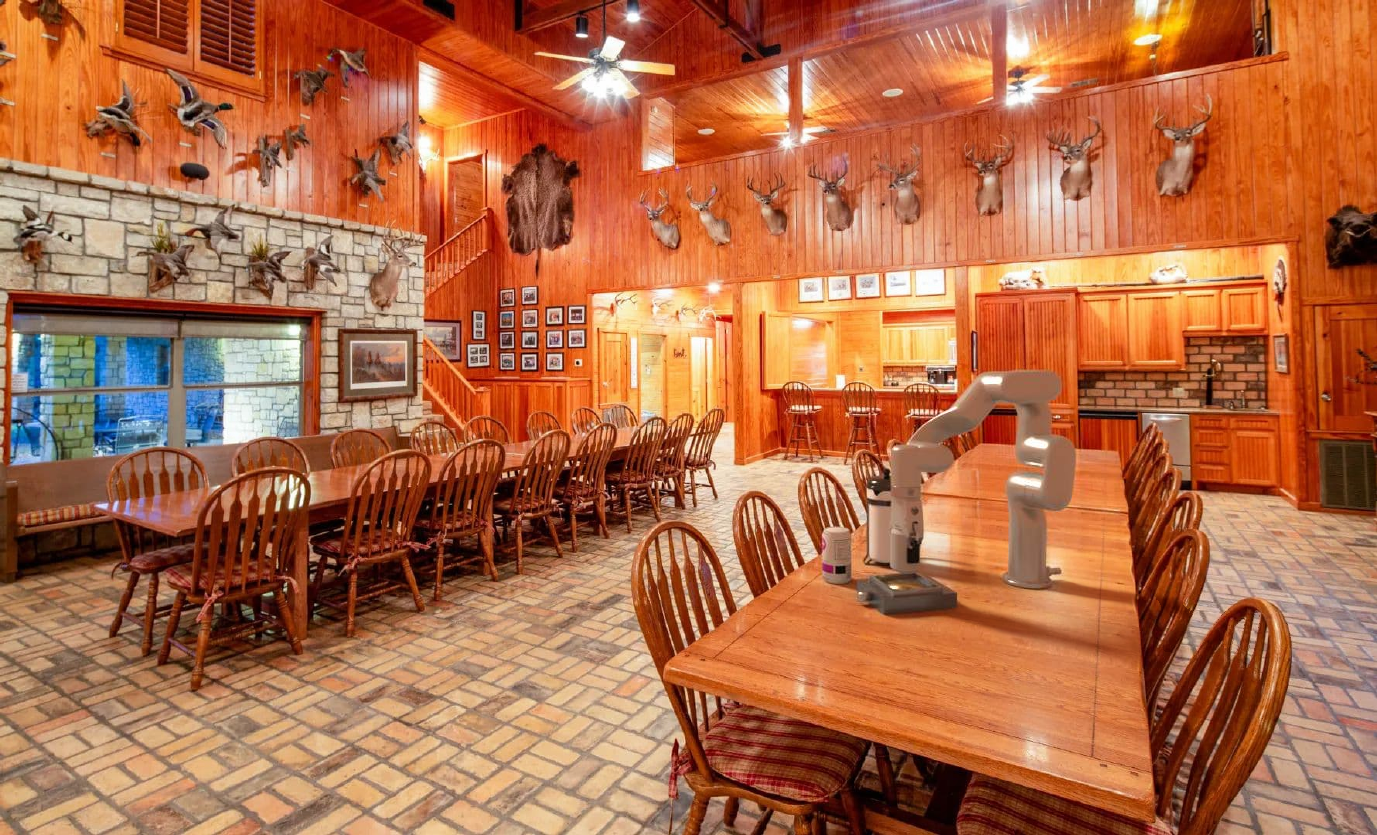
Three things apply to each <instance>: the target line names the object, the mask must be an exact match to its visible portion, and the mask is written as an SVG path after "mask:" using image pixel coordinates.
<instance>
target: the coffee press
mask: <svg viewBox="0 0 1377 835" xmlns="http://www.w3.org/2000/svg"><path fill="white" fill-rule="evenodd" d="M882 473H883V474H884V475H883V474H882V475H875V476H871V477H870V478H868V479H867V481H866V482H867V483H865V488H866V496H865V499H866V500H865V502H866V554H865V557H864V558H863V560H862V562H863V563H864V564H865V565H868V564H870V563H871V562H872V561H874V562H878V563H883V564H890V532H891V531H890V529H891V528H890V525H889V521H890V511H891V500H892V498H891V468H890V469H889V468H887V467H886V468H884V469H883V471H882ZM868 558H869V559H868ZM867 559H868V560H867Z"/></svg>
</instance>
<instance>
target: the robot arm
mask: <svg viewBox="0 0 1377 835" xmlns="http://www.w3.org/2000/svg"><path fill="white" fill-rule="evenodd" d="M1062 381H1063V380H1062V378H1061V377H1060V375H1059V374H1057V373H1056V372H1054V371H1053V370H1050V369H1048V370H1047V369H1013V370H1006V371H1005V370H1004V371H1003V370H1001V371H999V370H997V371H996V370H995V371H994V370H992V371H991V370H990V371H984V372H982V373H979V374H978V375H977V376H976V377H975V378H974V380H973V381H972V382H970V384H969V385H968V386H967V388H966V389H964V391H963V392H962V393H961V394H960V396H959V397H958V398H957V399H956V401H955V402H954V403H953V404H952V405H951V406H950V408H948V409H946V410H945V411H943V412H941V413H939V414H937V415H936V416H935V417H933V418H931V419H930V420H928V421H927V422H925V423H924V424H922V425H921V426H920V427H919V428H918V429H917V430H916V431H915V433H914V434H913V435H912V436H911V437H910V439H908V441H907V442H906V444H896V445H894V446H893V447H892V448H891V450H890V471H891V472H890V475H891V498H892V500H891V511H890V521H889V525H890V528H891V529H890V531H891V530H892V529H893V528H894V527H893V525H895V527H897V528H901V531H902V533H903V534H904V537H906V538H907V543H908V547H909V548H907V563H908V564H912V563H919V548H920V549H921V548H922V547H921V545H922V543H923V539H924V536H925V535H924V532H925V528H924V511H923V510H924V509H923V503H922V473H933V474H934V473H935V474H941V473H944V472H946V471H948V470H949V469H950V468H951V467H952V466H953V463H954V461H955V460H954V454H953V452H952V450H951V449H950V448H949V447H947V446H945V445H943V444H940V443H942V442H943V441H945V440H947V439H949V438H952V437H955V436H960V435H963V434H965V433H969V432H971V431H974V430H976V429H978V428H979V426H980V425H981V424H982V422H983V421H984V420H985V419H986V417H987V416H988V415H989V414H990V412H991V411H992V410H993V409H994V408H995V407H996V405H998V404H1009V405H1013V406H1014V408H1015V411H1016V413H1017V426H1016V436H1015V446H1014V454H1015V459H1016V461H1017V462H1019V463H1020V464H1022V465H1024V466H1027V467H1031V468H1039V469H1043V472H1037V471H1031V470H1018V471H1014V472H1012V473H1011V474H1010V475H1009V476H1008V478H1007V480H1006V482H1005V495H1006V499H1007V505H1008V564H1007V565H1008V566H1007V567H1008V568H1007V572H1006V571H1005V572H1004V573H1002V576H1001V578H1002V581H1003V582H1005V583H1006V584H1008V585H1011V586H1014V587H1019V588H1023V589H1035V590H1036V589H1038V590H1039V589H1046V588H1049V587H1051V586H1052V584H1053V580H1052V578H1050V577H1051V576H1052V575H1054V576H1055V575H1062V569H1061V568H1060V567H1059V566H1058V567H1051V566H1049V565H1048V566H1047V544H1048V543H1047V540H1048V539H1047V537H1048V536H1047V534H1048V533H1047V532H1048V520H1047V516H1046V512H1045V510H1046V511H1049V512H1050V511H1051V512H1061V511H1063V510H1065V509H1066V508H1067V507H1068V506H1069V505H1070V503H1071V500H1072V497H1073V491H1074V484H1075V475H1076V474H1075V473H1076V463H1077V452H1076V448H1075V446H1074V444H1073V443H1072V440H1070V439H1069V438H1068V437H1065V436H1062V435H1058V434H1053V433H1052V424H1053V423H1052V421H1053V418H1052V417H1053V416H1052V415H1053V414H1052V410H1051V407H1050V405H1049V404H1048V403H1049V402H1051V401H1054V400H1056V399H1057V398H1058V397H1059V396H1060V394H1061V393H1062V389H1063V382H1062ZM910 533H915V535H916V536H910ZM911 539H915V540H913V542H911Z"/></svg>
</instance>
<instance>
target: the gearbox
mask: <svg viewBox="0 0 1377 835" xmlns="http://www.w3.org/2000/svg"><path fill="white" fill-rule="evenodd" d="M856 597H857V598H856V599H857V601H858V602H859V603H862V602H864V603H865V602H867V603H868V604H869V605H871V606H872V607H873V608H875V610H876V611H878V612H880V614H882V616H883V615H885V616H887V615H896V614H906V613H917V612H930V611H941V610H951V609H952V610H953V609H958V592H956V591H955V590H954V589H951V588H949V587H948V586H947V585H944V584H943V583H941V582H939V581H938V580H936V579H934V578H933V577H932V576H929V575H928V574H926V573H920V572H919V571H917V572H916V573H911V574H904V573H899V572H896V573H885V574H884V573H883V574H873V575H872V574H871V575H869V577H868V578H858V579H856Z"/></svg>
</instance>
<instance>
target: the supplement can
mask: <svg viewBox="0 0 1377 835" xmlns="http://www.w3.org/2000/svg"><path fill="white" fill-rule="evenodd" d="M821 555H822V556H821V558H822V559H821V565H822V567H821V569H822V570H821V571H822V572H821V574H822V579H823V580H824V581H825V582H826V583H828V584H831V585H843V584H848V583H849V582H850V581H851V580H852V534H851V532H850V529H849V528H847V527H843V526H828V527H825V528H824V529H823V531H822V533H821Z"/></svg>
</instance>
